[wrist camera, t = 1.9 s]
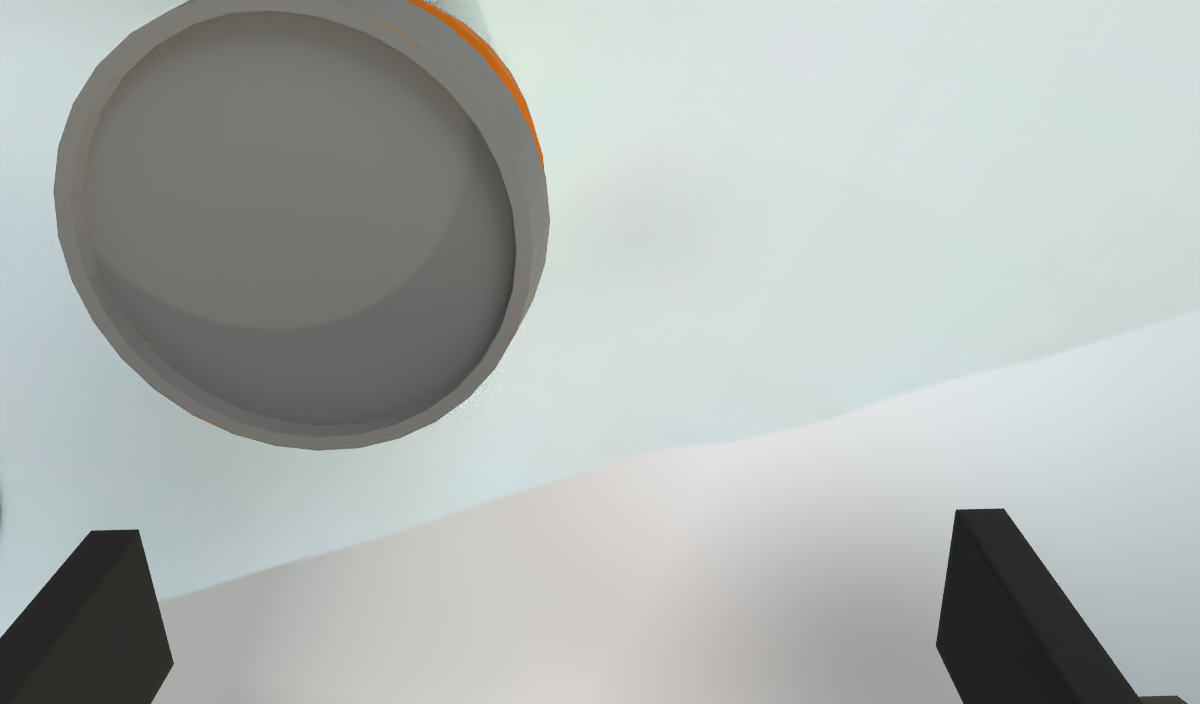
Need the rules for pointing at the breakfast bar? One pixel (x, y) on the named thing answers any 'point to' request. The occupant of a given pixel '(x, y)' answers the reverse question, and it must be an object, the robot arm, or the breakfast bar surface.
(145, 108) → the reusable coffee cup
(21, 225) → the breakfast bar surface
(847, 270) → the breakfast bar surface
